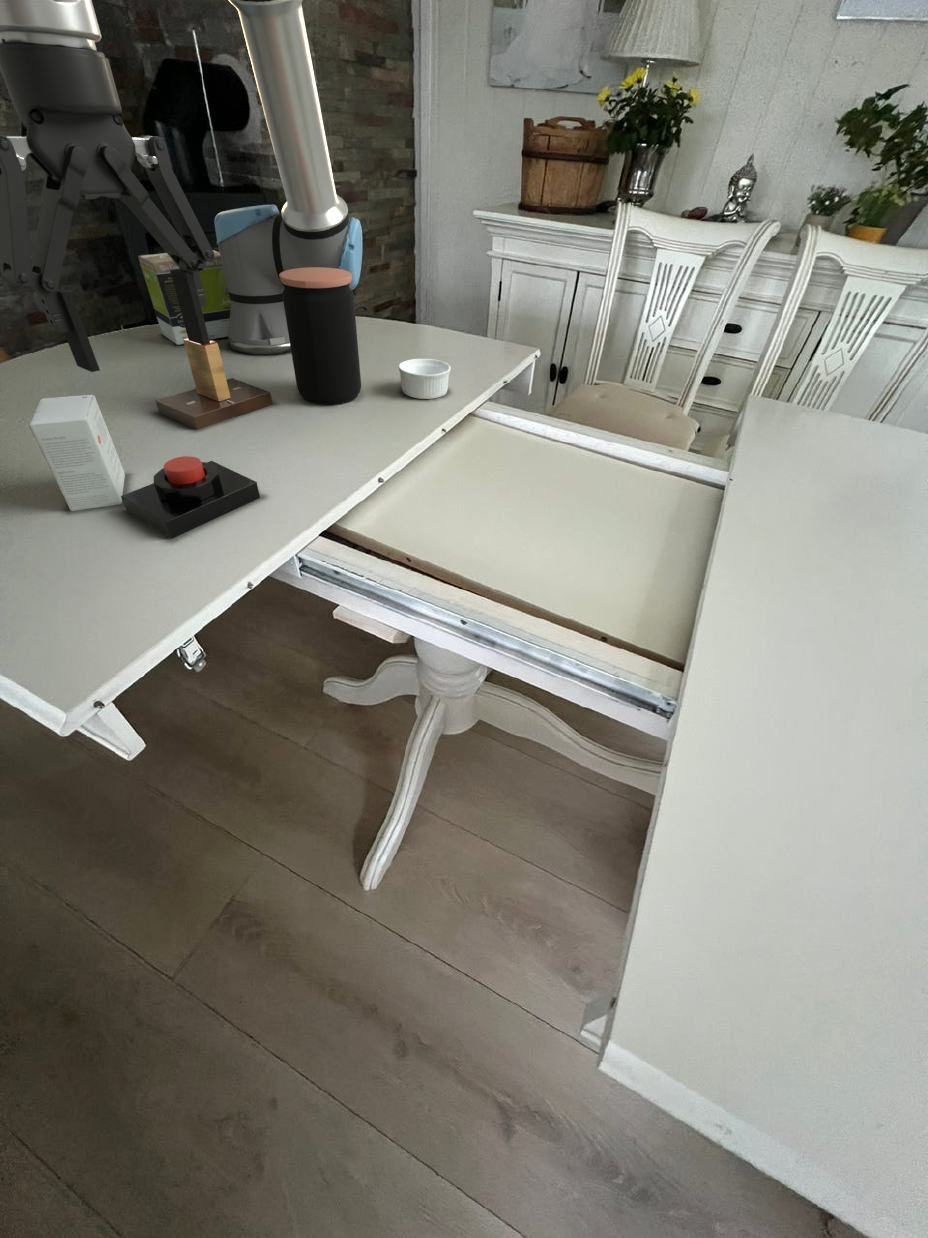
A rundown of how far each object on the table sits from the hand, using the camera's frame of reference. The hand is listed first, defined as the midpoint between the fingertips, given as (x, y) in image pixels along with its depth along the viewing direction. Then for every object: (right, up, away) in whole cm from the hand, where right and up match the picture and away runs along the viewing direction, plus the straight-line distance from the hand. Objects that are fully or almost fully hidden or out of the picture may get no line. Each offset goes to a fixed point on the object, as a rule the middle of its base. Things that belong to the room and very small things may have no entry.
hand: (147, 354), depth 57 cm
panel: (-8, +7, +34) cm, 36 cm away
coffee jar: (+9, +12, +40) cm, 43 cm away
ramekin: (+25, +13, +43) cm, 51 cm away
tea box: (-24, +34, +64) cm, 77 cm away
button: (0, -10, +9) cm, 14 cm away
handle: (-8, +9, +33) cm, 35 cm away
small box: (-13, -11, +13) cm, 21 cm away
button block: (0, -13, +11) cm, 17 cm away
